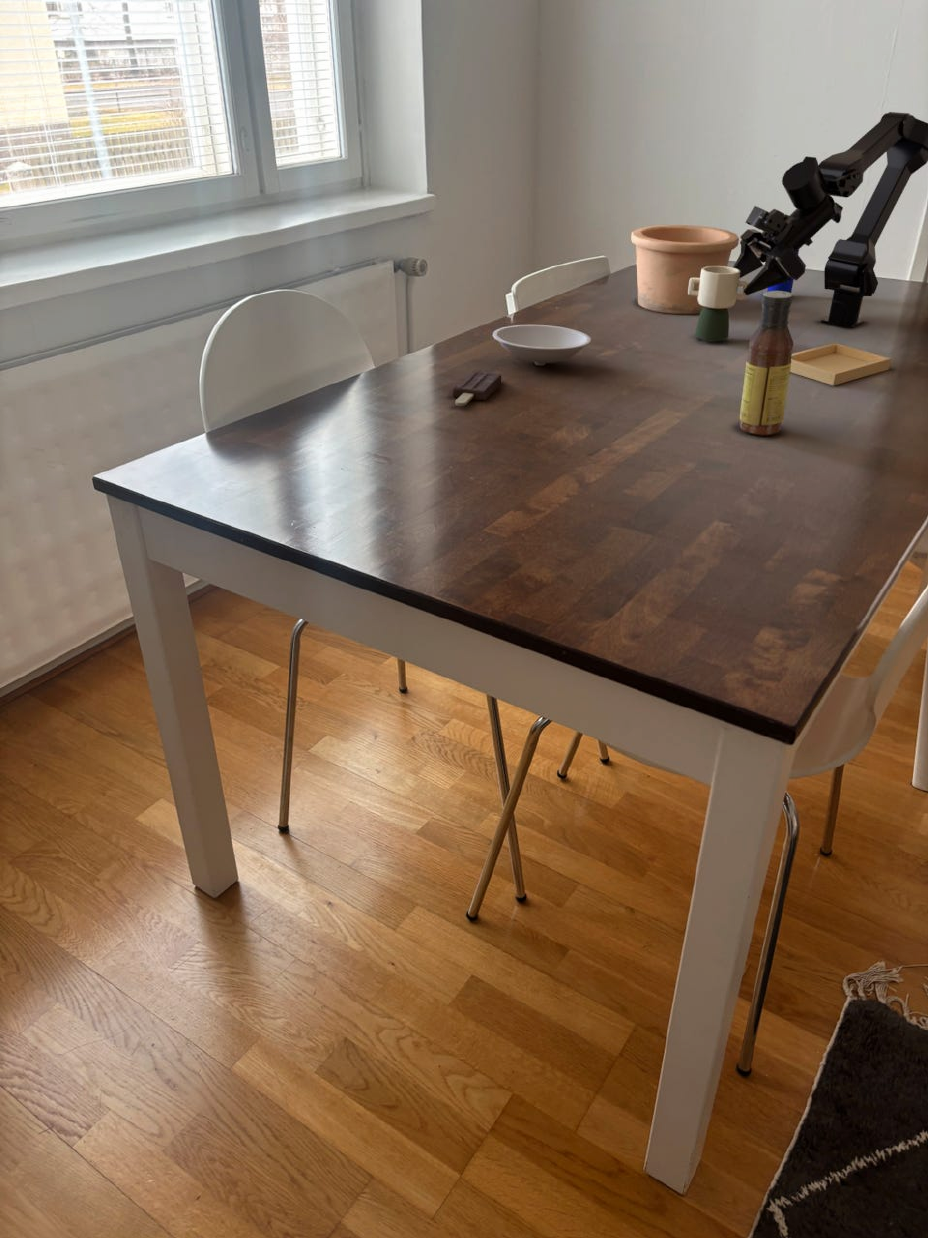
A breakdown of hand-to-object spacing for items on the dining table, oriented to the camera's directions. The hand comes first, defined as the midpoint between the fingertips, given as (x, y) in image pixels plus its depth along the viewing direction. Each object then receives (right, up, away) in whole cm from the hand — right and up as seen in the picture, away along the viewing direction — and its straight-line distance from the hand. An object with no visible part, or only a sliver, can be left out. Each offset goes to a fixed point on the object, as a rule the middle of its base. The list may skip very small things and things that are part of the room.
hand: (735, 287), depth 178 cm
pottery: (-5, +6, +28) cm, 29 cm away
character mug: (-3, -9, +5) cm, 11 cm away
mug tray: (+14, -18, -10) cm, 25 cm away
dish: (-37, -17, -8) cm, 42 cm away
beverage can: (+19, +9, +34) cm, 40 cm away
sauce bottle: (-7, -34, -35) cm, 49 cm away
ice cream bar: (-49, -25, -22) cm, 60 cm away
